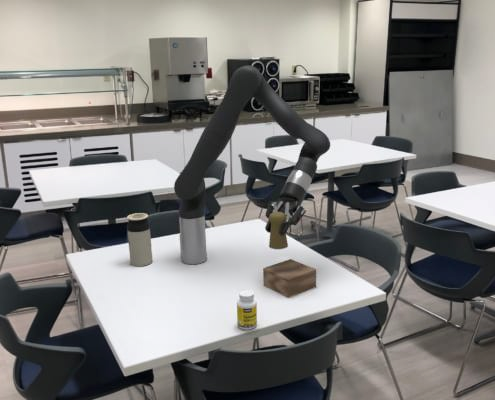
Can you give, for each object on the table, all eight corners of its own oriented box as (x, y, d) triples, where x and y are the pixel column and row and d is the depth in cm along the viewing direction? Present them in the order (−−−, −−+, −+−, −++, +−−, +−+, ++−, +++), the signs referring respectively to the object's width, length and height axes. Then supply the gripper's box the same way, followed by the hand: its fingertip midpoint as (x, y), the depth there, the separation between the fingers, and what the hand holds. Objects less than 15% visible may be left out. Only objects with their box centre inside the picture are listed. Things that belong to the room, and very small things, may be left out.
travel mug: (155, 258, 192) (151, 212, 187) (149, 267, 184) (145, 219, 179) (134, 258, 193) (130, 212, 188) (127, 266, 185) (123, 219, 180)
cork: (286, 249, 159) (285, 215, 156) (267, 249, 160) (265, 215, 157) (289, 242, 165) (287, 210, 162) (270, 242, 166) (269, 210, 163)
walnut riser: (263, 285, 166) (263, 268, 165) (290, 275, 173) (290, 258, 172) (288, 297, 157) (288, 279, 156) (316, 286, 164) (316, 269, 163)
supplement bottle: (243, 332, 138) (241, 299, 136) (234, 323, 143) (232, 291, 140) (260, 327, 140) (259, 294, 138) (251, 318, 145) (250, 287, 143)
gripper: (273, 178, 167) (251, 223, 162) (309, 183, 158) (286, 231, 152) (284, 190, 172) (262, 234, 167) (319, 196, 163) (298, 243, 158)
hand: (274, 232), depth 160 cm, fingers closed on cork, 5 cm apart
